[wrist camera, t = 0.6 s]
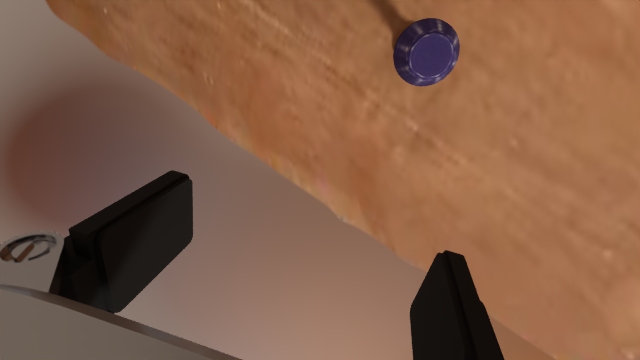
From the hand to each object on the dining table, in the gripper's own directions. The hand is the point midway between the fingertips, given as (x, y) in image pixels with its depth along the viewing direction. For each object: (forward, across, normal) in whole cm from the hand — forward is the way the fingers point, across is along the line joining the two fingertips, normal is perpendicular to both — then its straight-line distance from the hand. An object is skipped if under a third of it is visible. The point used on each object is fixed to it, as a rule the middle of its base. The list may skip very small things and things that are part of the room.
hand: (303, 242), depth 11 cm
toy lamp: (+29, -4, -7) cm, 30 cm away
